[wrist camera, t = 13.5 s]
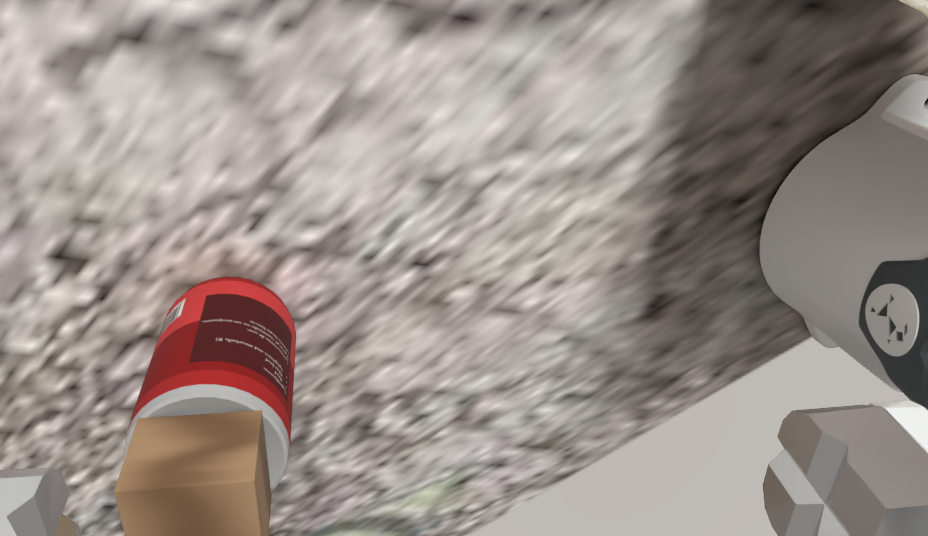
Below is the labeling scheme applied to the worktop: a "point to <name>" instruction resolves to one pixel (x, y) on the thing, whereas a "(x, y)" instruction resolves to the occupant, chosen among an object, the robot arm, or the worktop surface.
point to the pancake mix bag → (918, 5)
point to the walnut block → (196, 476)
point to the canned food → (225, 361)
